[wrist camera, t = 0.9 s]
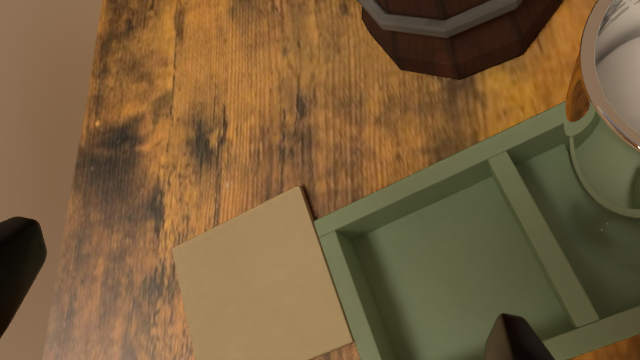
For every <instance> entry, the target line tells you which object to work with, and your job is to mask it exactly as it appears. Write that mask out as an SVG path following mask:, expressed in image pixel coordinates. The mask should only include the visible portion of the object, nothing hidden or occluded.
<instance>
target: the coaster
mask: <svg viewBox="0 0 640 360" xmlns="http://www.w3.org/2000/svg"><path fill="white" fill-rule="evenodd" d="M319 238H320V237H319V236H318V233H317V230H316V227H315V225H314V219H313V216H312V213H311V210H310V207H309V205H308V202H307V199H306V196H305V193H304V190H303V188H302V187H301V186H300V185H298V186H296V187H294V188H292V189H290V190H288V191H286V192H284V193H282V194H280V195H278V196H276V197H274V198H272V199H270V200H268V201H266V202H264V203H262V204H260V205H258V206H256V207H254V208H252V209H250V210H248V211H246V212H244V213H242V214H240V215H238V216H236V217H234V218H232V219H230V220H228V221H226V222H224V223H222V224H220V225H218V226H216V227H214V228H212V229H210V230H208V231H206V232H204V233H202V234H200V235H198V236H196V237H194V238H192V239H190V240H188V241H186V242H184V243H182V244H180V245H178V246H176V247H174V248H172V252H173V256H174V261H175V266H176V271H177V275H178V280H179V285H180V289H181V294H182V299H183V304H184V308H185V313H186V318H187V323H188V327H189V332H190V337H191V341H192V346H193V351H194V356H195V360H312V359H314V358H317V357H319V356H322V355H324V354H327V353H329V352H332V351H334V350H337V349H339V348H342V347H344V346H347V345H349V344H352V343H354V342H355V341H354V338H353V335H352V332H351V329H350V326H349V323H348V320H347V317H346V315H345V312H344V309H343V306H342V303H341V300H340V297H339V294H338V291H337V289H336V286H335V283H334V280H333V277H332V274H331V271H330V268H329V265H328V262H327V260H326V257H325V254H324V251H323V248H322V245H321V242H320V239H319Z"/></svg>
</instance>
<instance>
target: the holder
mask: <svg viewBox="0 0 640 360" xmlns="http://www.w3.org/2000/svg"><path fill="white" fill-rule="evenodd" d="M565 105H566V101H565V102H563V103H561V104H559V105H557V106H555V107H552V108H550V109H548V110H546V111H544V112H542V113H540V114H538V115H536V116H534V117H532V118H529V119H527V120H525V121H523V122H521V123H519V124H517V125H515V126H513V127H511V128H508V129H506V130H504V131H502V132H500V133H498V134H496V135H494V136H492V137H490V138H487V139H485V140H483V141H481V142H479V143H477V144H475V145H473V146H471V147H469V148H466V149H464V150H462V151H460V152H458V153H456V154H454V155H452V156H450V157H448V158H446V159H443V160H441V161H439V162H437V163H435V164H433V165H431V166H429V167H427V168H425V169H422V170H420V171H418V172H416V173H414V174H412V175H410V176H408V177H406V178H404V179H401V180H399V181H397V182H395V183H393V184H391V185H389V186H387V187H385V188H383V189H380V190H378V191H376V192H374V193H372V194H370V195H368V196H366V197H364V198H362V199H360V200H357V201H355V202H353V203H351V204H349V205H347V206H345V207H343V208H341V209H339V210H336V211H334V212H332V213H330V214H328V215H326V216H324V217H322V218H320V219H318V220H315V221H314V225H315V227H316V230H317V233H318V236H319V237H320V238H319V239H320V242H321V245H322V248H323V251H324V254H325V257H326V260H327V262H328V265H329V268H330V271H331V274H332V277H333V280H334V283H335V286H336V289H337V291H338V294H339V297H340V300H341V303H342V306H343V309H344V312H345V315H346V317H347V320H348V323H349V326H350V329H351V332H352V335H353V338H354V341H355V344H356V346H357V349H358V352H359V355H360V358H361V360H484V351H485V344H486V341H487V338H488V336H489V334H490V332H491V330H492V327H493V325H494V323H495V321H496V319H497V317H498V316H499V315H500V314H501V313H507V314H512V315H517V316H521V317H523V318H524V319H525V320H526V321H527V322H528V323H529V325H530V326H531V327H532V329H533V330H534V332H535V333H536V334H537V336H538V337H539V338H540V340H541V341H542V342H543V344H544V345H545V346H546V348H547V349H548V350H549V352H550V353H551V355H552V356H553V357H554V359H555V360H568V359H571V358H574V357H576V356H579V355H582V354H585V353H588V352H591V351H593V350H596V349H599V348H602V347H605V346H607V345H610V344H613V343H616V342H619V341H622V340H624V339H627V338H630V337H633V336H636V335H639V334H640V267H632V266H626V265H622V264H618V263H615V262H613V261H610V260H608V259H606V258H604V257H602V256H600V255H598V254H597V253H595V252H594V251H592V250H591V249H590V248H588V247H587V246H586V245H585V244H584V243H583V242H582V241H581V240H580V239H579V237H578V236H577V235H576V233H575V232H574V230H573V228H572V226H571V224H570V222H569V219H568V216H567V212H566V192H567V188H568V185H569V182H570V180H571V178H572V176H573V175H572V172H571V169H570V166H569V162H568V159H567V155H566V151H565V144H564V112H565Z"/></svg>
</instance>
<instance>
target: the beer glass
mask: <svg viewBox="0 0 640 360" xmlns="http://www.w3.org/2000/svg"><path fill="white" fill-rule="evenodd" d="M564 144H565V151H566V155H567V159H568V162H569V166H570V169H571V172H572V175H573V176H572V178H571V180H570V182H569V185H568V188H567V192H566V212H567V216H568V219H569V222H570V224H571V226H572V228H573V230H574V232H575V233H576V235H577V236H578V237H579V239H580V240H581V241H582V242H583V243H584V244H585V245H586V246H587V247H588V248H590V249H591V250H592V251H594V252H595V253H597V254H598V255H600V256H602V257H604V258H606V259H608V260H610V261H613V262H615V263H618V264H622V265H626V266H632V267H640V0H597V2H596V4H595V5H594V7H593V9H592V11H591V13H590V15H589V17H588V19H587V22H586V24H585V27H584V31H583V34H582V39H581V45H580V50H579V53H578V56H577V59H576V62H575V66H574V69H573V73H572V76H571V80H570V84H569V88H568V94H567V99H566V105H565V112H564Z"/></svg>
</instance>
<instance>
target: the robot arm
mask: <svg viewBox="0 0 640 360" xmlns="http://www.w3.org/2000/svg"><path fill="white" fill-rule="evenodd" d="M46 255H47V250H46V246H45V242H44V238H43V234H42V231H41V227H40V224H39V223H38V222H37V221H36V220H33V219H29V218H24V217H13V218H10V219H8V220H5V221H3V222H0V338H1V336H2V335H3V333H4V332H5V331H6V329H7V327H8V326H9V324H10V323H11V321H12V319H13V318H14V316H15V314H16V312H17V310H18V309H19V307H20V305H21V303H22V302H23V300H24V298H25V296H26V294H27V293H28V291H29V289H30V287H31V286H32V284H33V282H34V280H35V278H36V276H37V275H38V273H39V271H40V269H41V268H42V266H43V264H44V262H45V259H46ZM484 360H555V359H554V357H553V356H552V355H551V353H550V352H549V350H548V349H547V348H546V346H545V345H544V344H543V342H542V341H541V340H540V338H539V337H538V336H537V334H536V333H535V332H534V330H533V329H532V327H531V326H530V325H529V323H528V322H527V321H526V320H525V319H524V318H523V317H521V316H517V315H512V314H507V313H501V314H500V315H499V316H498V317H497V319H496V321H495V323H494V325H493V327H492V330H491V332H490V334H489V336H488V338H487V341H486V344H485V351H484Z"/></svg>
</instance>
